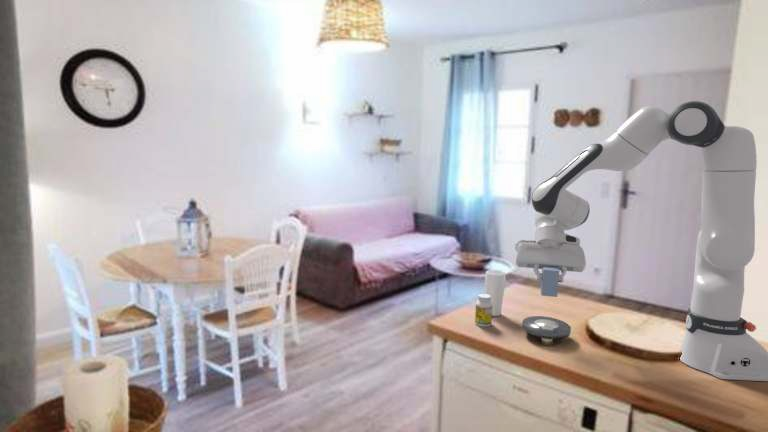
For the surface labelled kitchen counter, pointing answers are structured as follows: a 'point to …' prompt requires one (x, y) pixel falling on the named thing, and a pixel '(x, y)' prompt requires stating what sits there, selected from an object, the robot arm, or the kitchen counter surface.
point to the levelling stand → (546, 328)
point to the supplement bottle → (483, 310)
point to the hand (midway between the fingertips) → (550, 280)
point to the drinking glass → (495, 289)
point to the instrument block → (550, 281)
